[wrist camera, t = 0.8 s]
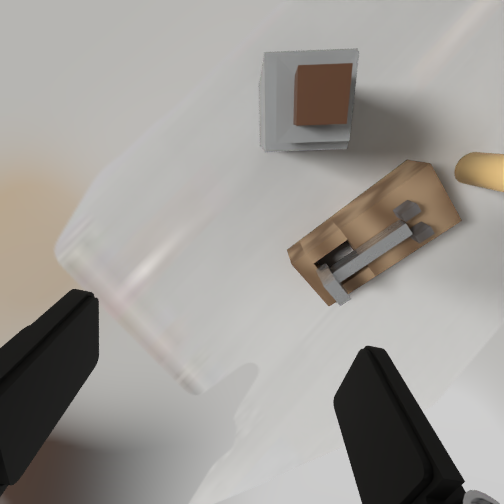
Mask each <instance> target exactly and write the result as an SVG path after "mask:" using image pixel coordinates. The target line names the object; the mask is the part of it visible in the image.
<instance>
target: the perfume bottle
mask: <svg viewBox="0 0 504 504" xmlns="http://www.w3.org/2000/svg"><path fill="white" fill-rule="evenodd" d="M358 57H359V51H358V49H333V50H308V51H283V52H264V58H263V64H262V70H261V76H260V82H259V114H260V146H261V148H262V149H263V150H264V151H265V152H277V151H305V150H332V149H347V147H348V141H350V132H351V122H352V113H353V104H354V95H355V85H356V76H357V67H358Z"/></svg>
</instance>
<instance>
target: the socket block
mask: <svg viewBox="0 0 504 504" xmlns="http://www.w3.org/2000/svg"><path fill="white" fill-rule="evenodd" d="M397 220H401V221H403V222H404V223H406V224H407V226H408V227H409V229H410V231H411V232H412V235H411V236H409V237H408V238H406V239H405V240H403V241H402V242H400V243H399V244H397V245H396V246H394V247H393V248H391V249H390V250H388V251H387V252H385V253H384V254H382V255H381V256H379V257H378V258H376V259H375V260H373V261H372V262H370V263H369V264H367V265H366V266H364V267H363V268H361V269H360V270H358V271H357V272H355V273H354V274H352V275H351V276H349V277H348V278H346V279H345V280H343V281H342V282H341V283H342V285H343V286H344V288H345V289H346V291H347V293H348V294H349V293H351V292H352V291H354V290H355V289H357V288H358V287H360V286H362V285H363V284H365V283H366V282H368V281H369V280H371V279H372V278H374V277H375V276H377V275H379V274H380V273H382V272H383V271H385V270H386V269H388V268H389V267H391V266H392V265H394V264H396V263H397V262H399V261H400V260H402V259H403V258H405V257H406V256H408V255H409V254H411V253H413V252H414V251H416V250H417V249H419V248H420V247H422V246H423V245H425V244H426V243H428V242H430V241H431V240H433V239H434V238H436V237H437V236H439V235H440V234H442V233H443V232H445V231H447V230H448V229H450V228H451V227H453V226H454V225H456V224H457V223H459V222H460V221H462V220H461V218H460V216H459V215H458V213H457V211H456V209H455V207H454V205H453V204H452V202H451V200H450V198H449V196H448V194H447V193H446V191H445V189H444V187H443V185H442V183H441V182H440V180H439V178H438V176H437V174H436V172H435V171H434V169H433V167H432V165H431V164H430V163H424V162H417V161H411V160H406V161H405V162H404V163H402V164H401V165H400V166H398V167H397V168H396V169H394V170H393V171H392V172H390V173H389V174H388V175H386V176H385V177H384V178H382V179H381V180H380V181H378V182H377V183H376V184H374V185H373V186H372V187H370V188H369V189H368V190H366V191H365V192H364V193H362V194H361V195H360V196H358V197H357V198H356V199H354V200H353V201H352V202H350V203H349V204H348V205H346V206H345V207H344V208H342V209H341V210H340V211H338V212H337V213H336V214H334V215H333V216H332V217H330V218H329V219H328V220H326V221H325V222H324V223H322V224H321V225H320V226H318V227H317V228H316V229H314V230H313V231H312V232H310V233H309V234H308V235H306V236H305V237H304V238H302V239H301V240H300V241H298V242H297V243H296V244H294V245H293V246H292V247H290V248H289V249H288V250H287V251H288V254H289V257H290V260H291V264H292V265H293V266H294V268H295V269H296V270H297V271H298V272H299V273H300V274H301V276H302V277H303V278H304V279H305V280H306V281H307V282H308V283H309V285H310V286H311V287H312V288H313V289H314V290H315V291H316V292H317V294H318V295H319V296H320V297H321V298H322V299H323V300H324V302H325V303H326V304H327V305H328V306H331V305H332V304H334V303H335V302H336V300H335V299H334V298H333V297H332V296H331V295H330V293H329V292H328V291H327V290H326V289H325V288H324V286H323V284H322V282H321V280H320V278H319V276H318V274H317V272H316V269H318V268H319V267H321V266H320V265H319V264H318V263H317V261H318V260H319V259H321V258H322V257H324V256H325V255H326V254H328V253H329V252H331V251H332V250H334V249H335V248H336V247H338V246H339V245H341V244H342V243H343V242H345V241H347V242H348V243H349V245H350V246H351V247H352V249H353V250H356V249H357V248H358V247H360V246H361V245H363V244H364V243H366V242H367V241H369V240H370V239H371V238H373V237H374V236H376V235H377V234H379V233H380V232H382V231H383V230H384V229H386V228H387V227H389V226H390V225H392V224H393V223H395V222H396V221H397Z"/></svg>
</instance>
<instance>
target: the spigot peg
mask: <svg viewBox="0 0 504 504" xmlns="http://www.w3.org/2000/svg"><path fill="white" fill-rule="evenodd" d="M455 178H456V179H457V180H458V181H459V182H461V183H464V184H469V185H474V186H478V187H483V188H487V189H492V190H496V191H501V192H504V154H492V153H478V152H473V153H469V154H467V155H465V156H464V157H462V158H461V159H460V160H459V162H458V163H457V165H456V167H455Z"/></svg>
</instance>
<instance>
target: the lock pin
mask: <svg viewBox="0 0 504 504" xmlns="http://www.w3.org/2000/svg"><path fill="white" fill-rule="evenodd" d="M411 235H412V232H411V231H410V229H409V227H408V226H407V224H406V223H404V222H403V221H401V220H397V221H396V222H395V223H393V224H392V225H390V226H389V227H387V228H386V229H384V230H383V231H382V232H380V233H379V234H377V235H376V236H374V237H373V238H371V239H370V240H369V241H367V242H366V243H364V244H363V245H361V246H360V247H358V248H357V249H356V250H354V251H353V252H351V253H350V254H348V255H347V256H345V257H344V258H343V259H341V260H340V261H338V262H337V263H335V264H334V265H332V266H331V267H330V268H329V267H328V265H327V264H326V263H325V264H324V265H322V266H321V267H319V268H318V269H316V272H317V274H318V276H319V278H320V280H321V282H322V284H323V286H324V288H325V289H326V290H327V291H328V292H329V293H330V295H331V296H332V297H333V298H334V299H335V300H336V302H337V303H338V304H339V305H340V306H341V305H343V304H344V303H346V302H347V301H349V300H350V299H351V298H350V296H349V294H348V293H347V291H346V289H345V288H344V286H343V285H342V283H341V282H342V281H343V280H345V279H346V278H348V277H349V276H351V275H352V274H354V273H355V272H357V271H358V270H360V269H361V268H363V267H364V266H366V265H367V264H369V263H370V262H372V261H373V260H375V259H376V258H378V257H379V256H381V255H382V254H384V253H385V252H387V251H388V250H390V249H391V248H393V247H394V246H396V245H397V244H399V243H400V242H402V241H403V240H405V239H406V238H408V237H409V236H411Z"/></svg>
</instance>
